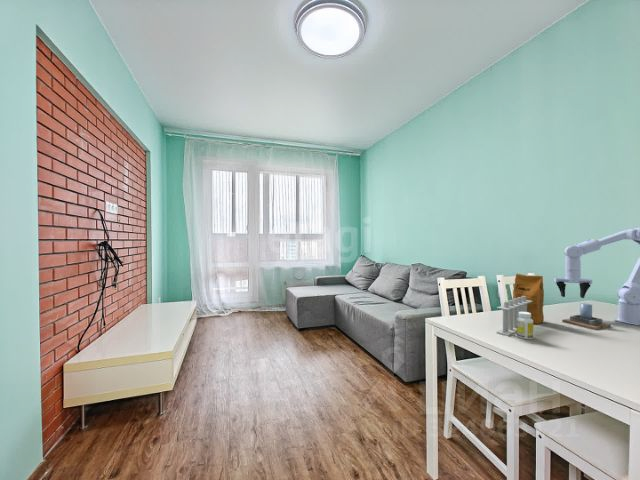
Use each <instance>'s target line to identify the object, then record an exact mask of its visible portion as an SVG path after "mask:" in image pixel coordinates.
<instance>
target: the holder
mask: <svg viewBox="0 0 640 480" xmlns="http://www.w3.org/2000/svg"><path fill="white" fill-rule="evenodd" d="M561 322H562V323H565V324H568V325H574V326H578V327H582V328H585V329H590V330H594V331H598V330H601V329H606V328H609V327H610V328H611V326H612V324H611V323H607V322H603V319H602V318H599V317H594V316H592V320H587V319H583V318H580V313H579V314H576V315H570V316H569V318H566V319H562V320H561Z"/></svg>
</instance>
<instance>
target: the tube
mask: <svg viewBox="0 0 640 480" xmlns="http://www.w3.org/2000/svg"><path fill="white" fill-rule="evenodd" d="M579 314H580V318H583V319H587V320H592V317H593V304H590V303H584V302H583V303H581V302H580V303H579Z"/></svg>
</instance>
